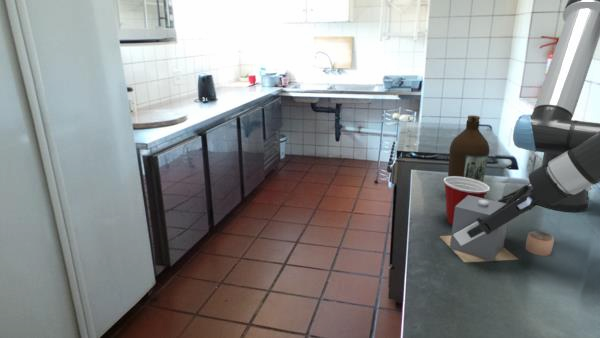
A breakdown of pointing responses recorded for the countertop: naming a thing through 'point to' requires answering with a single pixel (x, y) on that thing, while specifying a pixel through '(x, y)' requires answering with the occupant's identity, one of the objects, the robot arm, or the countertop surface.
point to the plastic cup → (461, 192)
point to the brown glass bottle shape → (469, 152)
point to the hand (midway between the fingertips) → (467, 229)
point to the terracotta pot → (539, 243)
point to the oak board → (465, 257)
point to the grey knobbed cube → (467, 215)
